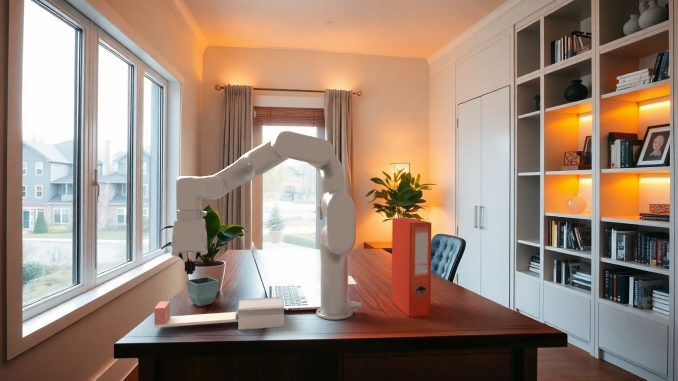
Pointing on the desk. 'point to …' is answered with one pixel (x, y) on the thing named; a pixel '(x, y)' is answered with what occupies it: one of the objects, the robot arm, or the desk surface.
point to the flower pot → (202, 290)
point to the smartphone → (351, 280)
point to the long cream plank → (187, 317)
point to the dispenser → (260, 313)
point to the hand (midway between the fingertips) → (190, 273)
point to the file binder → (411, 266)
